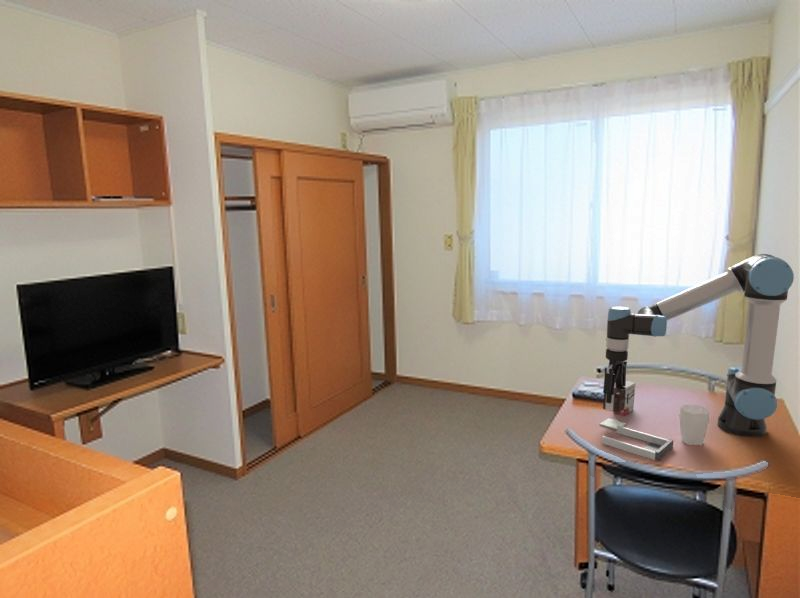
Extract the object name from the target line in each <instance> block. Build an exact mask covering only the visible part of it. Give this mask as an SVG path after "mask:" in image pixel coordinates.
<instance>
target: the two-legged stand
mask: <svg viewBox="0 0 800 598" xmlns="http://www.w3.org/2000/svg"><path fill="white" fill-rule="evenodd" d="M616 433H617V434H620V435H623V436H627V437H629V438H630V437H631V438H634V439H637V440H639V441H640V440H641V441H644V442H647V443H648V444H647V445H645V446H644V447H641V446H639V445H635V444H631V443H628V442H625V441H622V440H619V439H616V438H612V437H609V436H605V435H602V436H601V444H602V445H606V446H609V447H613V448H615V449H617V450H618V449H619V450H621V451H625V452H628V453H631V454H634V455H637V456H641V457H643V458H646V457H647V458H646V459H649V458H651V459H650V460H652V459H655V460H654V461H656V460H659V459H660V458H661V459H662V458H664V457H665V456H666V455H667V454H668V453H669V452H671V450H673V449H674V439H672V438H670V439H667V438H664V437H660V436H656V435H653V434H650V433H646V432H643V431H640V430H635V429H633V428H632V429H631V428H628V427H626V426H624V427H622V426H619V425H618V426H617V430H616ZM668 451H669V452H668ZM667 452H668V453H667ZM666 453H667V454H666ZM665 454H666V455H665ZM661 459H660V460H661ZM660 460H659V461H660Z"/></svg>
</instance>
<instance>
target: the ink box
mask: <svg viewBox="0 0 800 598" xmlns="http://www.w3.org/2000/svg"><path fill="white" fill-rule="evenodd" d="M623 387H625V390H626V394H625V408H624V409H623V410H622V411H620V412H619V413H617V412H613V413H615V414H618V415H622V416H627V414H629V413H631V412H633V410H634V407H635V406H634V405H635V394H636V393H635V392H636V382H633V381H630V380H627V379H626V386H623ZM614 388H616V384H615V386H614Z"/></svg>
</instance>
